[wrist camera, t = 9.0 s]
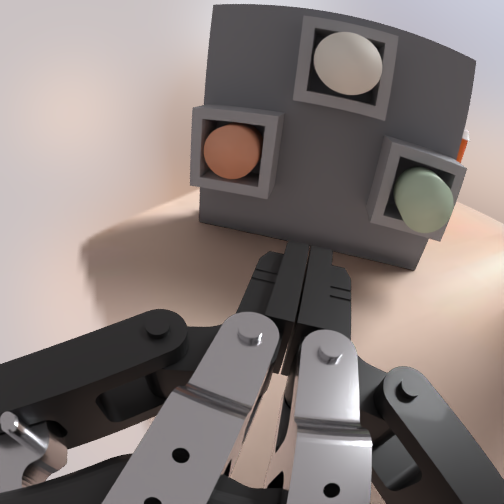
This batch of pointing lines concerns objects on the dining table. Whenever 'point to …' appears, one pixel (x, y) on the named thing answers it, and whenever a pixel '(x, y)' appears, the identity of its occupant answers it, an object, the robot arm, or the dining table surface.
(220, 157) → the terracotta button
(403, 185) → the sage button
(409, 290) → the dining table surface
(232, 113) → the button panel
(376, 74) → the cream button
